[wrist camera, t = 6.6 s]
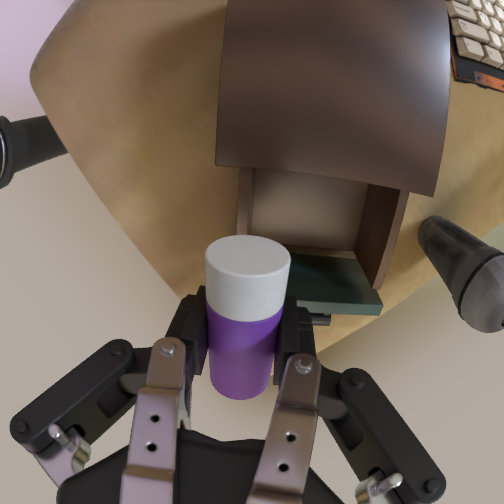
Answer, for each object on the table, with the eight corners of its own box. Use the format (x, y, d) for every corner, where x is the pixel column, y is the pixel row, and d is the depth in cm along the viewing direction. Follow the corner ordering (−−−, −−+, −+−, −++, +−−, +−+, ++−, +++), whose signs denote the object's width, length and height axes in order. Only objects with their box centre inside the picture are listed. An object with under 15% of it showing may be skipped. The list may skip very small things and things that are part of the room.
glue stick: (279, 371, 14) (247, 410, 12) (233, 347, 15) (198, 379, 13) (304, 250, 10) (261, 288, 8) (238, 227, 12) (186, 254, 9)
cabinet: (383, 168, 24) (433, 197, 15) (235, 147, 24) (214, 166, 16) (396, 27, 17) (446, 0, 8) (247, 0, 17) (234, -50, 8)
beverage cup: (460, 204, 25) (576, 305, 7) (449, 258, 28) (535, 373, 10) (412, 203, 25) (537, 326, 8) (403, 262, 29) (485, 401, 11)
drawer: (348, 299, 31) (364, 348, 24) (232, 290, 31) (222, 340, 24) (387, 135, 22) (429, 146, 15) (242, 113, 22) (230, 111, 15)
